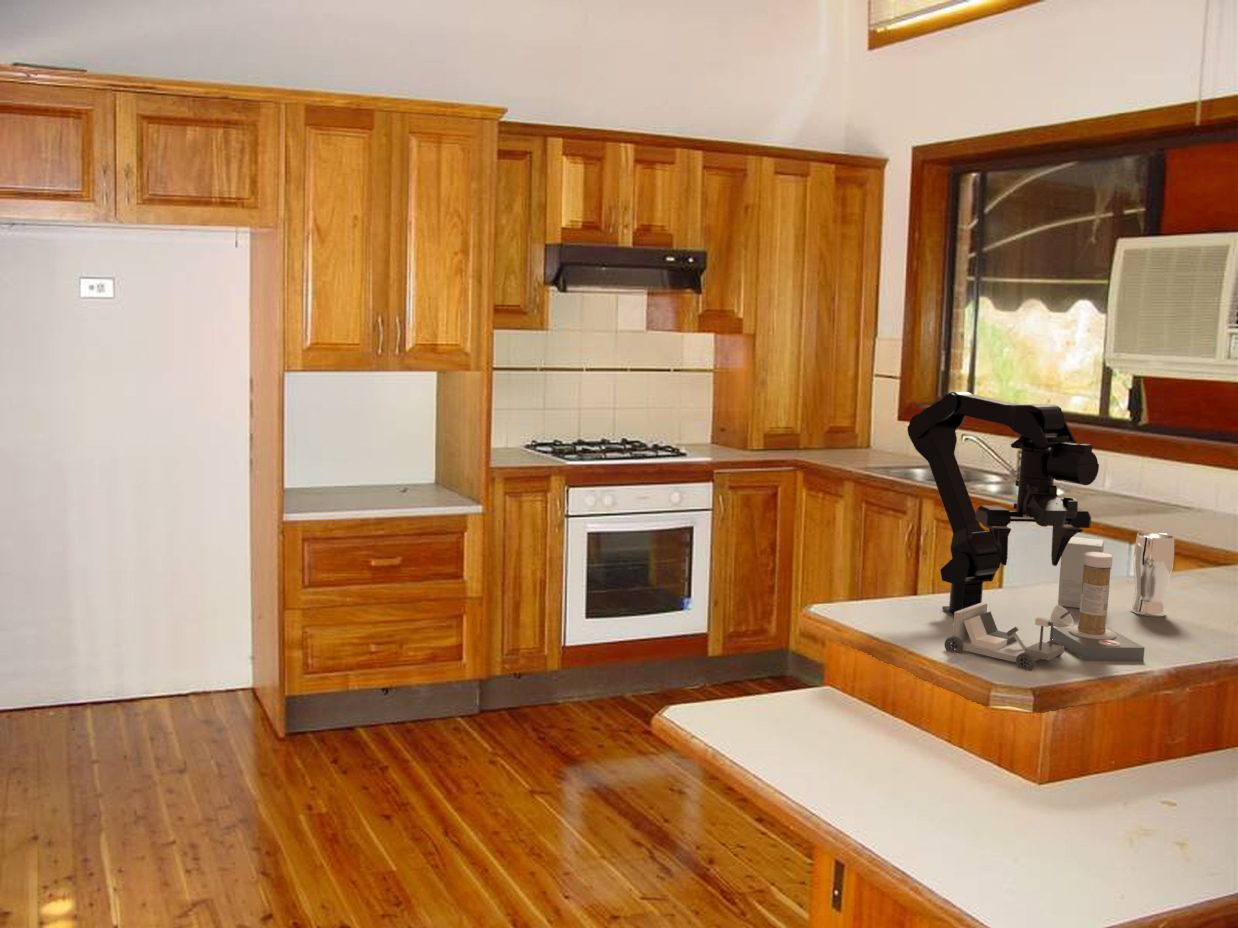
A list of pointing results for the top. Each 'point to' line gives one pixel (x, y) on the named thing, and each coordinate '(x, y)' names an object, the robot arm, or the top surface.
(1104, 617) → the sprinkles bottle
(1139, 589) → the beer glass
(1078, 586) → the supplement box
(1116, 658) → the kitchen scale
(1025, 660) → the toy go kart
